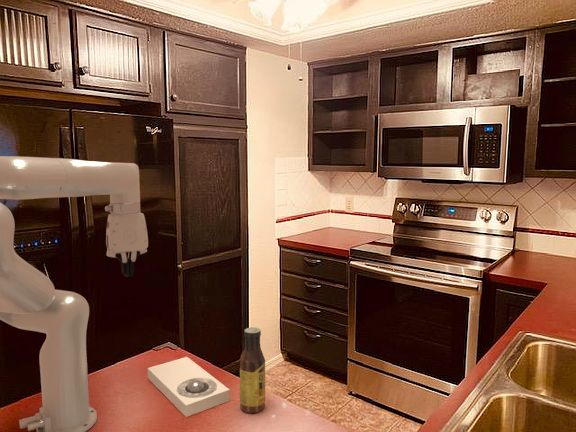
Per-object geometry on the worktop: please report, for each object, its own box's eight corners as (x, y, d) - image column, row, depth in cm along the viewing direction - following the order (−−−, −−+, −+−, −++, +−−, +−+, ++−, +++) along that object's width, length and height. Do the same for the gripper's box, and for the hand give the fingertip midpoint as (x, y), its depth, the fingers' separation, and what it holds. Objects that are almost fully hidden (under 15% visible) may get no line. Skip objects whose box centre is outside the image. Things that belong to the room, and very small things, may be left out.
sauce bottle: (264, 414, 110) (264, 336, 107) (238, 414, 110) (237, 335, 107) (266, 400, 116) (266, 325, 113) (241, 399, 116) (241, 325, 114)
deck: (186, 417, 108) (186, 405, 108) (147, 378, 127) (147, 368, 126) (229, 400, 116) (229, 389, 115) (187, 366, 134) (187, 356, 134)
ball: (200, 404, 115) (183, 400, 115) (203, 392, 120) (187, 388, 119) (205, 389, 114) (187, 385, 114) (207, 378, 119) (190, 374, 118)
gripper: (101, 212, 114) (104, 283, 117) (157, 208, 124) (159, 274, 126) (92, 209, 120) (95, 277, 123) (147, 206, 129) (149, 269, 132)
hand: (128, 275), depth 124 cm, fingers closed
